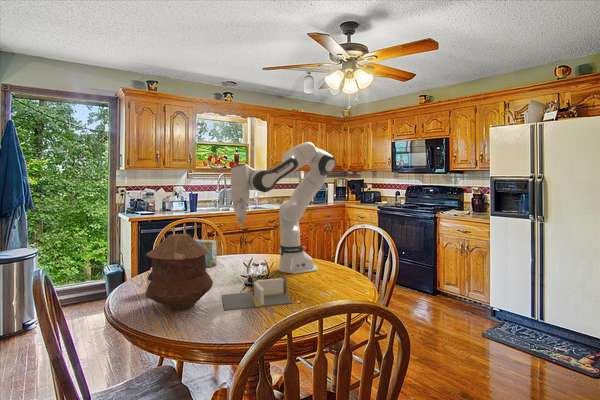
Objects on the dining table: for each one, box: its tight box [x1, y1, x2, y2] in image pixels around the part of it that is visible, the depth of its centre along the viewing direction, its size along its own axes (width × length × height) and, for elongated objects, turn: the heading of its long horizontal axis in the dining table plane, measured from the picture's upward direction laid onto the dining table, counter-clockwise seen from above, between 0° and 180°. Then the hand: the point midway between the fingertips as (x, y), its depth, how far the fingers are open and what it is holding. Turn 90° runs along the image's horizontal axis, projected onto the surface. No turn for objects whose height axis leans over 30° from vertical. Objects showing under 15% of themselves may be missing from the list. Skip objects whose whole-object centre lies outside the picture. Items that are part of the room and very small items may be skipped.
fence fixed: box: [252, 275, 287, 296], centre depth 158 cm, size 15×2×7 cm, turn 106°
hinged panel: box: [252, 281, 264, 305], centre depth 150 cm, size 12×2×6 cm, turn 21°
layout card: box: [221, 291, 293, 311], centre depth 153 cm, size 28×18×1 cm, turn 106°
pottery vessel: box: [145, 233, 214, 312], centre depth 144 cm, size 26×26×30 cm
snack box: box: [193, 238, 218, 268], centre depth 210 cm, size 21×6×15 cm, turn 71°
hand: (240, 226), depth 171 cm, fingers closed
